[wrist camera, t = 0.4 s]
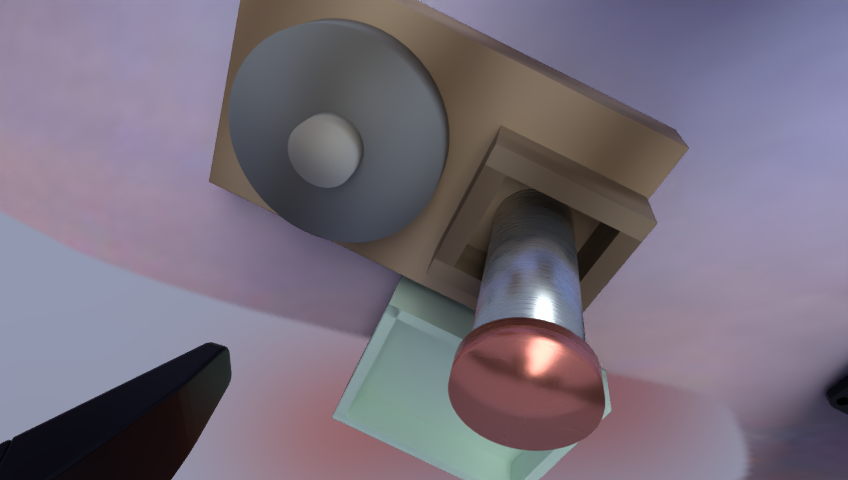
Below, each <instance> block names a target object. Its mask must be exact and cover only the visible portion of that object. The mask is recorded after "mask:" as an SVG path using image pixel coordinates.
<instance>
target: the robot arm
mask: <svg viewBox="0 0 848 480" xmlns="http://www.w3.org/2000/svg"><path fill="white" fill-rule="evenodd" d="M230 380H231V363H230V354H229V350H228V348H227V347H225V346H222V345H219V344H216V343H212V342H211V343H205V344H203V345H201V346H199V347H197V348H195V349H193V350H191V351H189V352H187V353H185V354H183V355H181V356H179V357H177V358H175V359H173V360H170V361H168V362H167V363H164V364H162V365H160V366H158V367H156V368H154V369H152V370H150V371H148V372H146V373H144V374H142V375H140V376H138V377H136V378H134V379H132V380H130V381H128V382H126V383H124V384H121V385H120V386H117V387H115V388H113V389H111V390H109V391H107V392H105V393H103V394H101V395H99V396H97V397H95V398H93V399H91V400H89V401H87V402H85V403H83V404H81V405H79V406H77V407H75V408H73V409H71V410H69V411H66V412H64V413H63V414H60V415H58V416H56V417H54V418H52V419H50V420H48V421H46V422H44V423H42V424H40V425H38V426H36V427H34V428H32V429H30V430H28V431H25V432H23V433H21V434H19V435H17V436H15V437H14V438H13V439H12V441H11V440H7V441H5V442H3V443H1V444H0V480H171V479H172V478H173V476H174V475H175V473H176V472H177V471H178V469H179V468H180V466H181V465H182V463H183V462H184V461H185V459H186V458H187V456H188V455H189V453H190V452H191V450H192V448H193V446H194V445H195V443H196V442H197V440H198V438H199V437H200V435H201V433H202V431H203V429H204V428H205V426H206V424H207V422H208V420H209V419H210V417H211V415H212V414H213V412H214V410H215V408H216V407H217V405H218V403H219V401H220V399H221V397H222V396H223V394H224V393H225V391H226V389H227V387H228V385H229V383H230ZM825 396H826V398H827V400H828V402H829V403H830V405H831V406H832V407H834V408H836V409H838V410H840V411H842V412H844V413H846V414H848V377H846V378H845V379H843V380H842V381H840V382H839V383H838V384H836V385H835V386H833V387H832V388H831V389H829V390H828V391H827V392H826V395H825ZM841 397H842V398H841Z"/></svg>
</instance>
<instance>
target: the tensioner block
mask: <svg viewBox="0 0 848 480" xmlns="http://www.w3.org/2000/svg"><path fill="white" fill-rule="evenodd" d="M688 149H689V147H688V146H687V145H686V143H685V142H684V141H683V139H682V138H681V137H680V135H679V134H678V133H677V131H676V130H675V129H673V128H671V127H669V126H667V125H665V124H663V123H661V122H659V121H657V120H655V119H653V118H651V117H649V116H647V115H645V114H643V113H641V112H639V111H637V110H635V109H633V108H631V107H629V106H627V105H625V104H623V103H621V102H619V101H617V100H615V99H613V98H611V97H609V96H607V95H605V94H603V93H601V92H599V91H597V90H595V89H593V88H591V87H589V86H587V85H585V84H583V83H581V82H579V81H577V80H575V79H573V78H571V77H569V76H567V75H565V74H563V73H561V72H559V71H557V70H555V69H553V68H551V67H549V66H547V65H545V64H543V63H541V62H539V61H537V60H535V59H533V58H531V57H529V56H527V55H525V54H523V53H521V52H519V51H517V50H515V49H513V48H511V47H509V46H507V45H505V44H503V43H501V42H499V41H497V40H495V39H493V38H491V37H489V36H487V35H485V34H483V33H481V32H479V31H477V30H475V29H473V28H471V27H469V26H467V25H465V24H463V23H461V22H459V21H457V20H455V19H453V18H451V17H449V16H447V15H445V14H443V13H441V12H439V11H437V10H435V9H433V8H431V7H429V6H427V5H425V4H423V3H421V2H419V1H417V0H240V6H239V12H238V18H237V23H236V29H235V35H234V41H233V46H232V52H231V58H230V64H229V69H228V75H227V81H226V87H225V92H224V98H223V104H222V110H221V115H220V121H219V127H218V132H217V138H216V144H215V150H214V155H213V161H212V167H211V173H210V178H209V182H211V183H213V184H215V185H217V186H219V187H221V188H223V189H225V190H227V191H229V192H231V193H233V194H235V195H238V196H240V197H242V198H244V199H246V200H248V201H250V202H252V203H254V204H256V205H258V206H260V207H262V208H264V209H267V210H269V211H271V212H273V213H275V214H277V215H279V216H281V217H282V218H284V219H285V220H287V221H288V222H289V223H291V224H292V225H294V226H296V227H298V228H300V229H301V230H303V231H305V232H308V233H310V234H313V235H315V236H318V237H321V238H325V239H328V240H331V241H333V242H335V243H337V244H339V245H341V246H343V247H345V248H347V249H349V250H351V251H353V252H356V253H358V254H360V255H362V256H364V257H366V258H368V259H370V260H372V261H374V262H376V263H378V264H380V265H382V266H385V267H387V268H389V269H391V270H393V271H395V272H397V273H399V274H401V275H403V276H405V277H407V278H409V279H411V280H414V281H416V282H418V283H420V284H422V285H424V286H426V287H428V288H430V289H432V290H434V291H436V292H438V293H440V294H443V295H445V296H447V297H449V298H451V299H453V300H455V301H457V302H459V303H461V304H463V305H465V306H467V307H469V308H472V309H474V310H476V307H477V302H478V297H479V292H480V287H481V283H482V278H483V273H484V268H485V263H486V258H487V253H488V248H489V243H490V238H491V233H492V228H493V223H494V218H495V214H496V211H497V209H498V207H499V206H500V204H501V203H502V202H503V201H504V200H505V199H506V198H507V197H508V196H510V195H511V194H513V193H515V192H517V191H520V190H524V189H532V188H534V189H536V190H538V191H540V192H542V193H544V194H546V195H548V196H550V197H552V198H554V199H556V200H558V201H560V202H562V203H564V204H566V205H568V206H569V208H570V210H571V212H572V215H573V220H574V230H575V240H576V250H577V261H578V271H579V281H580V291H581V301H582V312H584V311H585V310H586V308H587V307H588V306H589V305H590V304H591V302H592V301H593V300H594V299H595V298H596V296H597V295H598V294H599V293H600V292H601V290H602V289H603V288H604V287H605V286H606V284H607V283H608V282H609V281H610V280H611V278H612V277H613V276H614V275H615V274H616V272H617V271H618V270H619V269H620V268H621V266H622V265H623V264H624V263H625V262H626V260H627V259H628V258H629V257H630V256H631V254H632V253H633V252H634V251H635V250H636V248H637V247H638V246H639V245H640V244H641V242H642V241H643V240H644V239H645V238H646V236H647V235H648V234H649V233H650V232H651V230H652V229H653V228H654V227H655V226H656V224H657V221H656V219H655V216H654V214H653V211H652V209H651V206H650V204H649V202H648V199H649V198H650V197H651V195H652V194H653V193H654V192H655V190H656V189H657V188H658V187H659V185H660V184H661V183H662V182H663V180H664V179H665V178H666V176H667V175H668V174H669V173H670V171H671V170H672V169H673V168H674V166H675V165H676V164H677V163H678V161H679V160H680V159H681V158H682V156H683V155H684V154H685V153H686V151H687V150H688Z"/></svg>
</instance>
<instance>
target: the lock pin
mask: <svg viewBox="0 0 848 480" xmlns="http://www.w3.org/2000/svg"><path fill="white" fill-rule="evenodd" d="M448 394H449V399H450V402H451V405H452V407H453V409H454V410H455V412H456V414H457V415H458V416H459V418H460V419H461V420H462V421H463V422H464V423H465V424H466V425H467V426H468V427H469V428H470V429H472V430H473V431H474V432H476V433H477V434H479V435H480V436H482V437H484V438H486V439H488V440H490V441H492V442H494V443H497V444H500V445H503V446H506V447H510V448H514V449H520V450H528V451H546V450H554V449H559V448H564V447H567V446H570V445H572V444H575V443H577V442H579V441H581V440H582V439H584V438H586V437H587V436H588V435H589V434H591V433H592V432H593V431H594V430H595V429H596V427H597V426H598V425H599V423H600V421H601V420H602V417H603V415H604V411H605V393H604V386H603V378H602V371H601V366H600V363H599V361H598V358H597V356H596V355H595V353H594V351H593V350H592V349H591V348H590V346H589V345H588V344H587V343H586V342H585V332H584V322H583V312H582V301H581V291H580V281H579V271H578V261H577V250H576V240H575V230H574V220H573V215H572V212H571V210H570V208H569V206H568V205H566V204H564V203H562V202H560V201H558V200H556V199H554V198H552V197H550V196H548V195H546V194H544V193H542V192H540V191H538V190H536V189H534V188H532V189H524V190H520V191H517V192H515V193H513V194H511V195H510V196H508V197H507V198H506V199H505V200H504V201H503V202H502V203H501V204H500V206H499V207H498V209H497V211H496V214H495V218H494V223H493V228H492V233H491V238H490V243H489V248H488V253H487V258H486V263H485V268H484V273H483V278H482V283H481V287H480V292H479V297H478V302H477V307H476V312H475V317H474V322H473V327H472V331H471V332H470V333H469V334H468V335H467V336H466V337H465V338H464V339H463V340H462V341H461V343H460V344H459V346H458V348H457V350H456V353H455V356H454V360H453V364H452V368H451V373H450V377H449V383H448Z"/></svg>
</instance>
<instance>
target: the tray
mask: <svg viewBox="0 0 848 480" xmlns="http://www.w3.org/2000/svg"><path fill="white" fill-rule="evenodd" d="M475 312H476V310H474V309H472V308H469V307H467V306H465V305H463V304H461V303H459V302H457V301H455V300H453V299H451V298H449V297H447V296H445V295H443V294H440V293H438V292H436V291H434V290H432V289H430V288H428V287H426V286H424V285H422V284H420V283H418V282H416V281H414V280H411V279H409V278H407V277H405V276H403V275H402V277H401V279H400V281H399V283H398V285H397V287H396V289H395V291H394V293H393V295H392V297H391V299H390V300H389V302H388V304H387V306H386V308H385V310H384V312H383V314H382V316H381V318H380V320H379V322H378V324H377V326H376V328H375V330H374V332H373V334H372V336H371V338H370V340H369V342H368V344H367V347H366V348H365V351H364V353H363V354H362V356H361V358H360V360H359V363H358V364H357V366H356V368H355V371H354V373H353V374H352V377H351V379H350V380H349V382H348V384H347V386H346V389H345V391H344V393H343V395H342V397H341V399H340V401H339V404H338V406H337V408H336V410H335V412H334V414H333V416H332V418H334V419H336V420H338V421H340V422H342V423H344V424H346V425H348V426H351V427H353V428H355V429H357V430H359V431H361V432H363V433H365V434H368V435H370V436H372V437H374V438H376V439H378V440H380V441H382V442H385V443H387V444H389V445H391V446H393V447H395V448H397V449H400V450H401V451H404V452H406V453H408V454H410V455H412V456H414V457H416V458H419V459H421V460H423V461H425V462H427V463H429V464H431V465H433V466H435V467H437V468H440V469H442V470H444V471H446V472H448V473H451V474H453V475H455V476H457V477H459V478H461V479H463V480H539V479H540V478H541V477H542V476H543V475H544V474H545V473H547V471H549V470H550V469H551V468H552V467H553V466H554V465H555V464H556V463H557V462H558V461H559V460H560V459H561V458H562V457H563V456H564V455H565V454H566V453H568V452H569V451H570V450H571V449H572V448H573V447H574V446H575V445H576V444H577V443H578V442H577V443H575V444H572V445H570V446H567V447H564V448H559V449H554V450H546V451H528V450H520V449H514V448H510V447H506V446H503V445H500V444H497V443H494V442H492V441H490V440H488V439H486V438H484V437H482V436H480V435H479V434H477V433H476V432H474V431H473V430H472V429H470V428H469V427H468V426H467V425H466V424H465V423H464V422H463V421H462V420H461V419H460V418H459V416H458V415H457V414H456V412H455V410H454V409H453V407H452V405H451V402H450V399H449V394H448V383H449V377H450V373H451V368H452V364H453V360H454V356H455V353H456V350H457V348H458V346H459V344H460V343H461V341H462V340H463V339H464V338H465V337H466V336H467V335H468V334H469V333H470V332H471V331H472V327H473V322H474V317H475ZM601 371H602V378H603V386H604V393H605V411H604V415H603V417H602V419H603V418H604V417H605V416H606V415H607V414H609V413H610V412H611V404H610V397H609V390H608V383H607V376H606V371H605V370H603V369H601Z"/></svg>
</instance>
